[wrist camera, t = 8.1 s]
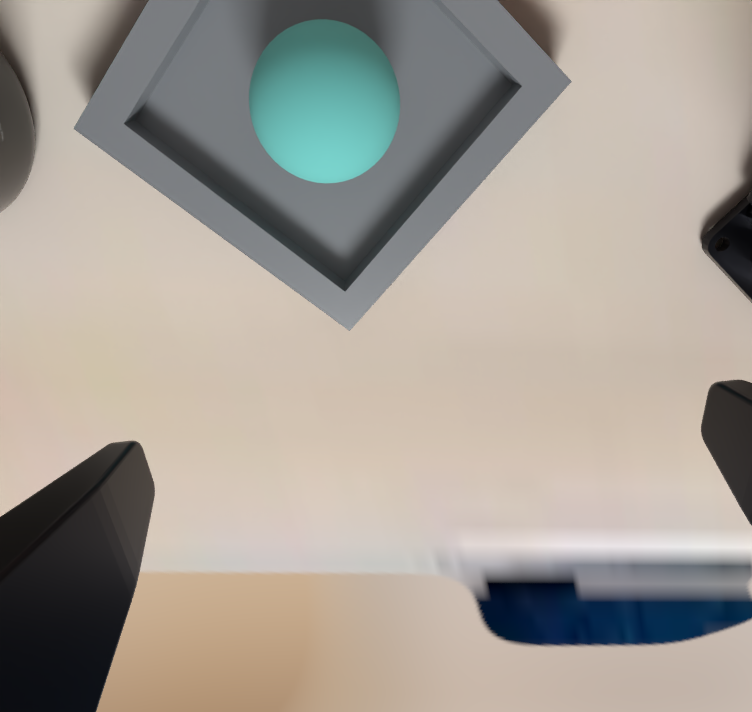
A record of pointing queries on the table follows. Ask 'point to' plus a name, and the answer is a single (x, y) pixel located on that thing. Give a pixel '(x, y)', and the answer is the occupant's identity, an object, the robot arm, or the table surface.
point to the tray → (293, 194)
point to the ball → (324, 101)
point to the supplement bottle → (14, 136)
